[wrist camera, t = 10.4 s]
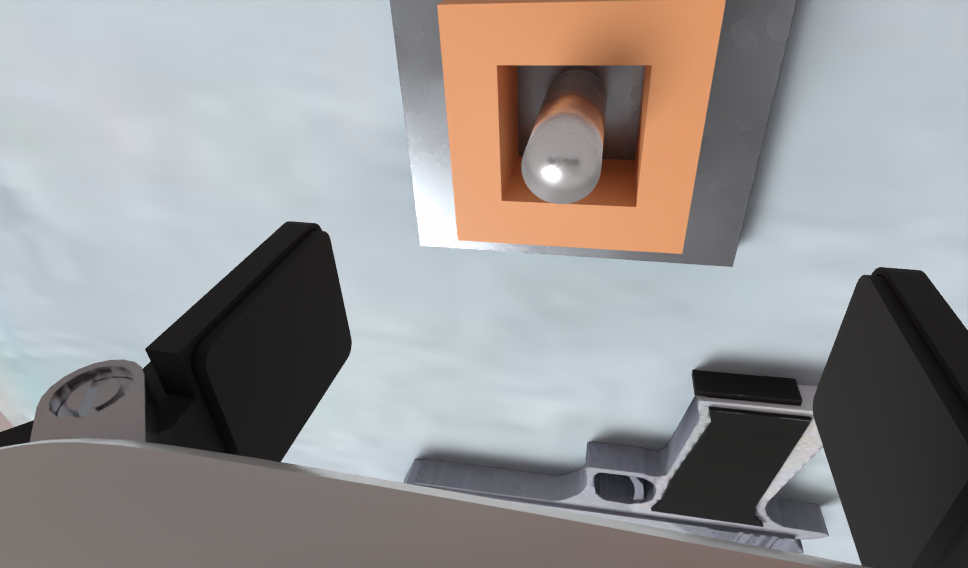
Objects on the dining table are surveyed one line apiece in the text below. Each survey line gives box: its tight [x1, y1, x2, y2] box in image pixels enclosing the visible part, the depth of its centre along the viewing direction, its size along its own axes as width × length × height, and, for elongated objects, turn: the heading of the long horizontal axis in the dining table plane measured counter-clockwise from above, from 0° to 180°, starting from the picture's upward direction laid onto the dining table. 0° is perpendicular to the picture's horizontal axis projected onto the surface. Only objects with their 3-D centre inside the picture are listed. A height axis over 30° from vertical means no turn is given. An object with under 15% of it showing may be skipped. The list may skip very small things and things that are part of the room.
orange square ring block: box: [437, 0, 726, 254], centre depth 17 cm, size 7×7×4 cm
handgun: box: [404, 370, 829, 553], centre depth 29 cm, size 2×22×12 cm
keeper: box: [390, 0, 797, 267], centre depth 17 cm, size 12×12×6 cm
